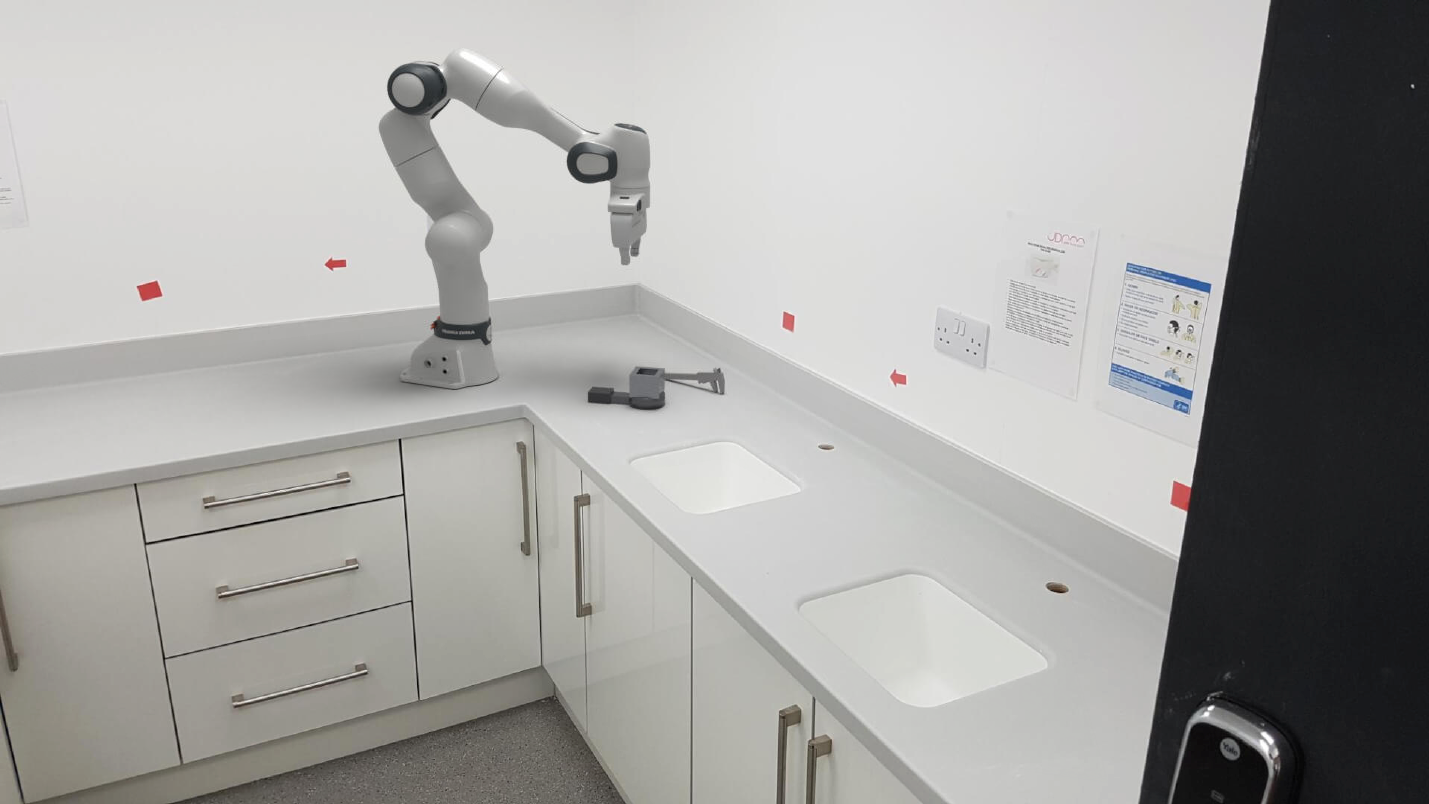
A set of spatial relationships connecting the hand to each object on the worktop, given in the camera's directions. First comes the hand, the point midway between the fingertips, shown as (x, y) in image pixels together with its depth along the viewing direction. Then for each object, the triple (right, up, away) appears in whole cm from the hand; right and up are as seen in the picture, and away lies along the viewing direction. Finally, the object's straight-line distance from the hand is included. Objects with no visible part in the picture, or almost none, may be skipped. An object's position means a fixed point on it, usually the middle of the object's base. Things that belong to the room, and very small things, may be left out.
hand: (630, 260), depth 248 cm
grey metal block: (+4, -30, -5) cm, 31 cm away
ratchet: (0, -32, -4) cm, 32 cm away
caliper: (+13, -29, +9) cm, 33 cm away
